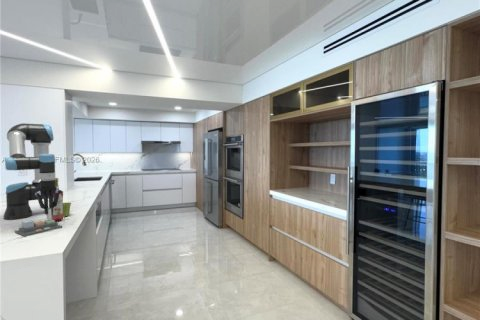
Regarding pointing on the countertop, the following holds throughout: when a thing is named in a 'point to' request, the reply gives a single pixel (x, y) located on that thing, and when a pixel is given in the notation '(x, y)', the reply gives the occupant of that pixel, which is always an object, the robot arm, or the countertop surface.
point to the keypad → (38, 229)
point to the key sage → (49, 221)
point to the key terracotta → (39, 223)
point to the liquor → (58, 205)
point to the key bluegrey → (27, 224)
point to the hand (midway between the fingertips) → (49, 219)
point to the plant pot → (66, 209)
